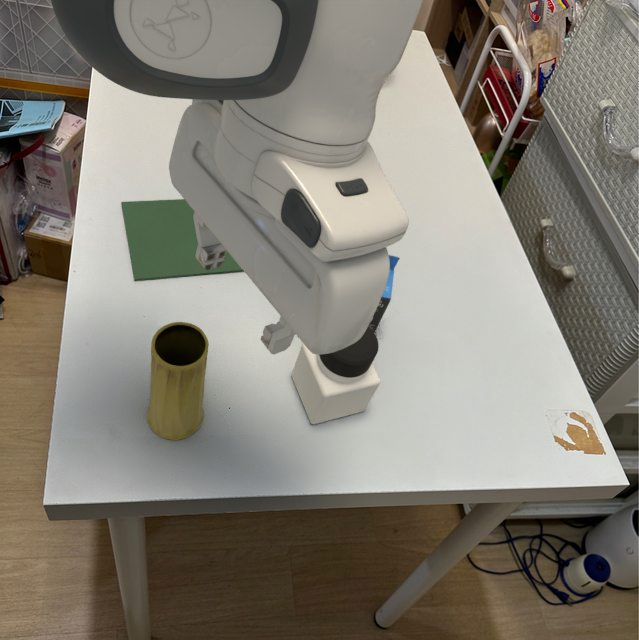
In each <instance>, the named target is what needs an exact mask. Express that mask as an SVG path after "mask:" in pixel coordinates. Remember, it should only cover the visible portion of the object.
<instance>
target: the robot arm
mask: <svg viewBox="0 0 639 640" xmlns="http://www.w3.org/2000/svg"><path fill="white" fill-rule="evenodd" d="M50 2H51V6H52V9H53V13H54V15H55V18H56V19H57V23H58V24H59V26H60V28H61V30H62V32H63V33H64V35H65V37H66V39H68V41H69V43H70V44H71V46H72V47H73V48H74V49H75V51H76V52H77V54H78V55H79V56H80V57H81V59H83V60H84V61H85V62H86V63H87V65H89V66H91V68H92V69H94V70H95V71H96V72H98V73H99V74H100V75H102V76H103V77H104V78H105V79H108V80H109V81H111V82H113V83H114V84H116V85H118V86H120V87H122V88H124V89H127V90H129V91H132V92H135V93H138V94H141V95H145V96H150V97H155V98H165V99H178V100H179V99H181V100H182V99H183V100H191V104H190V105H188V106H187V107H186V109H185V110H184V112H183V114H182V116H181V119H180V121H179V124H178V127H177V130H176V134H175V138H174V141H173V145H172V149H171V154H170V158H169V163H168V171H169V177H170V182H171V184H172V186H173V187H174V188H175V190H176V192H178V194H179V195H180V196H181V197H182V199H185V201H186V202H187V203H188V204H189V205H190V207H191V208H192V209H193V210H194V216H193V219H194V225H195V230H196V236H197V241H198V246H197V251H196V259H197V260H198V261H199V262H200V263H201V264H202V266H203V267H204V268H205V269H206V270H210V269H212V268H218V267H220V266H221V265H222V264H223V263H224V257H225V255H226V251H228V253H229V254H230V255H231V256H232V257H233V259H234V260H235V261H236V262H237V263H238V265H239V266H240V267H241V268H242V269H243V271H244V272H243V273H245V275H246V276H247V278H249V279H250V281H251V282H252V283H253V284H254V286H255V287H256V288H257V289H258V290H259V292H260V293H261V294H262V295H263V296H264V298H266V300H267V301H268V302H269V303H270V305H271V306H272V307H273V308H274V310H275V311H276V312H277V313H278V314H279V315H280V317H279V320H278V321H276V323H270V324H267V325H264V327H263V331H262V335H261V336H260V341H261V342H262V344H263V345H264V346H265V347H266V349H267V350H268V351H269V353H270V354H271V355H276V354H279V353H282V352H285V351H287V350H288V349H289V348H290V347H291V345H292V342H293V340H294V338H295V336H297V337H298V339H299V340H300V341H301V342H302V344H303V343H304V345H305V346H306V347H307V348H308V350H309V351H310V352H311V353H313V354H316V355H320V354H329V353H333V352H336V351H338V350H341V349H344V348H346V347H348V346H350V345H352V344H354V343H355V342H357V341H358V340H359V339H360V338H361V337H362V336H363V334H364V333H365V331H366V329H367V327H368V326H369V324H370V322H371V320H372V318H373V315H374V313H375V311H376V309H377V307H378V304H379V302H380V300H381V297H382V295H383V292H384V289H385V286H386V284H387V280H388V276H389V270H390V260H389V255H390V254H389V251H388V247H389V246H392V245H394V244H396V243H398V242H400V241H401V240H402V239H403V238H404V236H405V234H406V233H407V231H408V228H409V225H410V224H409V223H410V219H409V215H408V212H407V210H406V209H405V207H404V205H403V204H402V202H401V200H400V199H399V197H398V195H397V194H396V192H395V190H394V188H393V187H392V184H391V183H390V181H389V180H388V178H387V176H386V174H385V172H384V170H383V168H382V167H381V166H382V165H381V164H380V162H379V160H378V157H377V155H376V153H375V151H374V148H373V146H372V144H370V143H371V142H369V139H370V136H371V134H372V131H373V128H374V125H375V121H376V114H377V113H376V112H377V105H378V99H379V96H380V93H381V90H382V88H383V87H384V85H385V83H386V81H387V80H388V78H389V77H390V76H391V75H392V73H393V72H394V71H395V70H396V68H397V67H398V65H399V64H400V62H401V60H402V58H403V56H404V53H405V50H406V47H407V45H408V43H409V41H410V38H411V35H412V33H413V30H414V27H415V25H416V23H417V20H418V17H419V15H420V11H421V9H422V6H423V5H424V0H50Z"/></svg>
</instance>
